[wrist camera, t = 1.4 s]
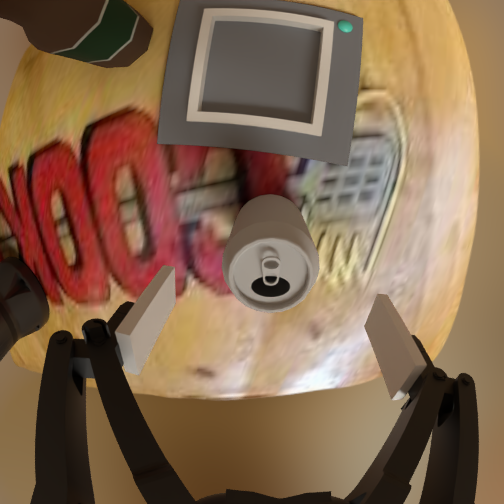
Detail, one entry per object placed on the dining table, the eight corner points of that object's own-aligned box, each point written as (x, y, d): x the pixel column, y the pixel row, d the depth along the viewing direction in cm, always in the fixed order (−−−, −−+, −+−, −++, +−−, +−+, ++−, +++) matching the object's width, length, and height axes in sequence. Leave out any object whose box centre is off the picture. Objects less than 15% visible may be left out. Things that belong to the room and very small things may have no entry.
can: (237, 256, 32) (221, 319, 21) (235, 192, 29) (214, 228, 18) (301, 256, 31) (317, 321, 20) (305, 193, 28) (328, 229, 17)
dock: (160, 143, 27) (151, 144, 25) (182, 2, 20) (176, -6, 17) (344, 165, 27) (351, 167, 25) (360, 21, 20) (367, 13, 17)
